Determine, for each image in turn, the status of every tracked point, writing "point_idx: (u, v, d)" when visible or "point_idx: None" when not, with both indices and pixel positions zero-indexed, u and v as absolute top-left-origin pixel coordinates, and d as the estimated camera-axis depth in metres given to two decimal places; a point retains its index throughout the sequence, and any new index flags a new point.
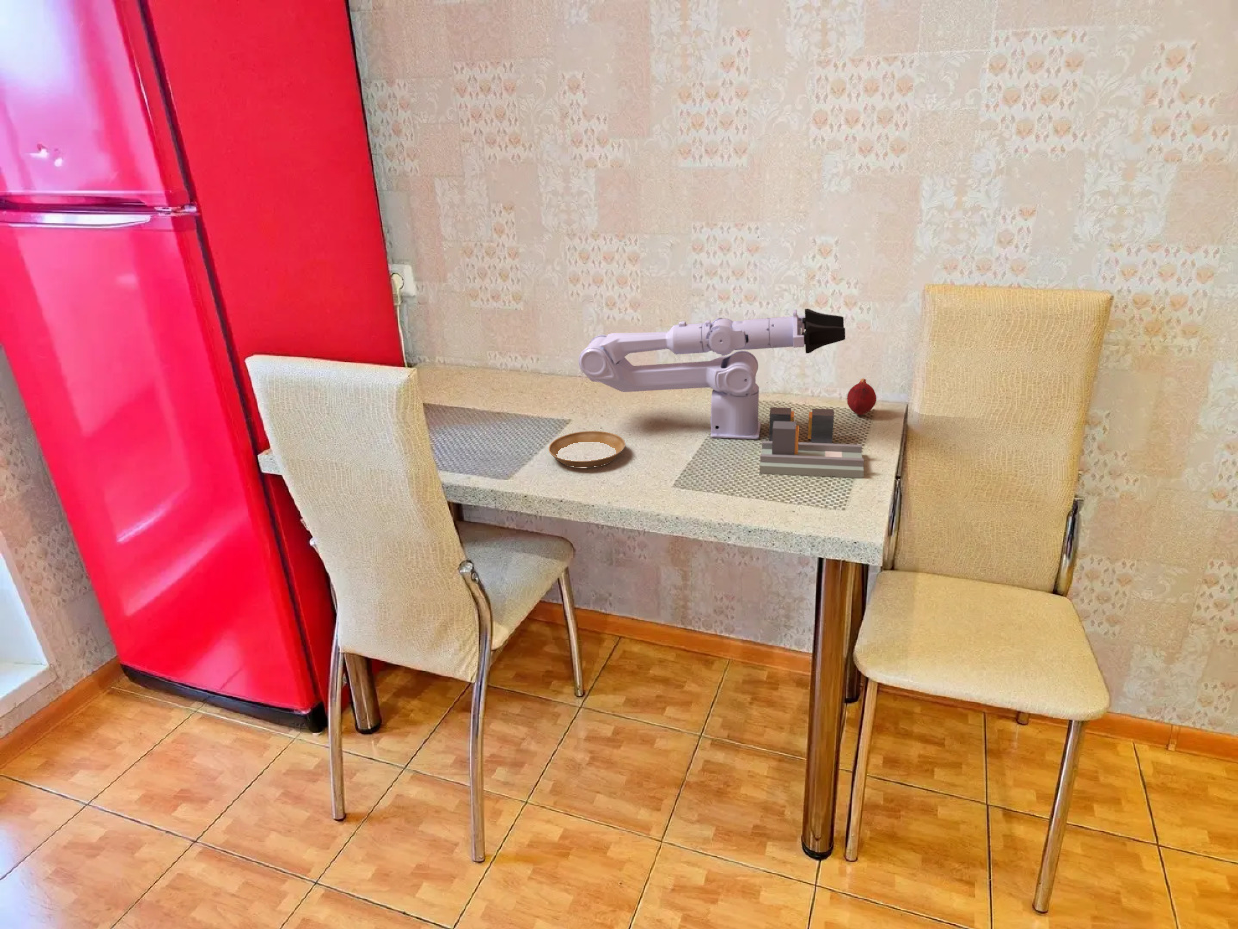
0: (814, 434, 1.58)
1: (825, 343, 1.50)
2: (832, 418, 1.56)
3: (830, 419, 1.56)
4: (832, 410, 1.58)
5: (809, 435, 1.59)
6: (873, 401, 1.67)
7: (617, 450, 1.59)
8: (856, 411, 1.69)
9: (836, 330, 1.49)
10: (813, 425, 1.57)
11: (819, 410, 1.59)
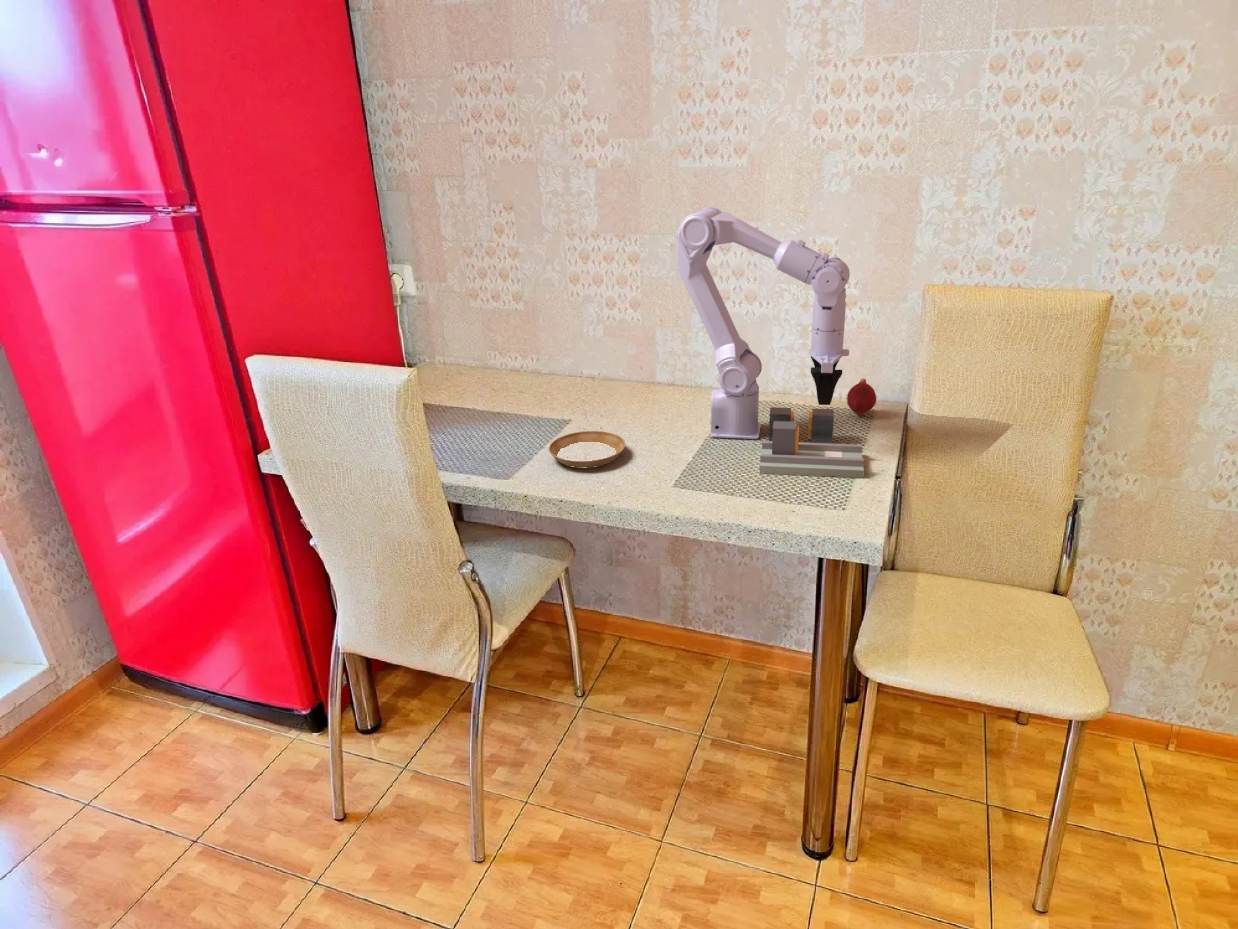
0: (814, 434, 1.58)
1: (818, 388, 1.51)
2: (832, 418, 1.56)
3: (830, 419, 1.56)
4: (832, 410, 1.58)
5: (809, 435, 1.59)
6: (873, 401, 1.67)
7: (617, 450, 1.59)
8: (856, 411, 1.69)
9: (829, 397, 1.52)
10: (813, 425, 1.57)
11: (819, 410, 1.59)
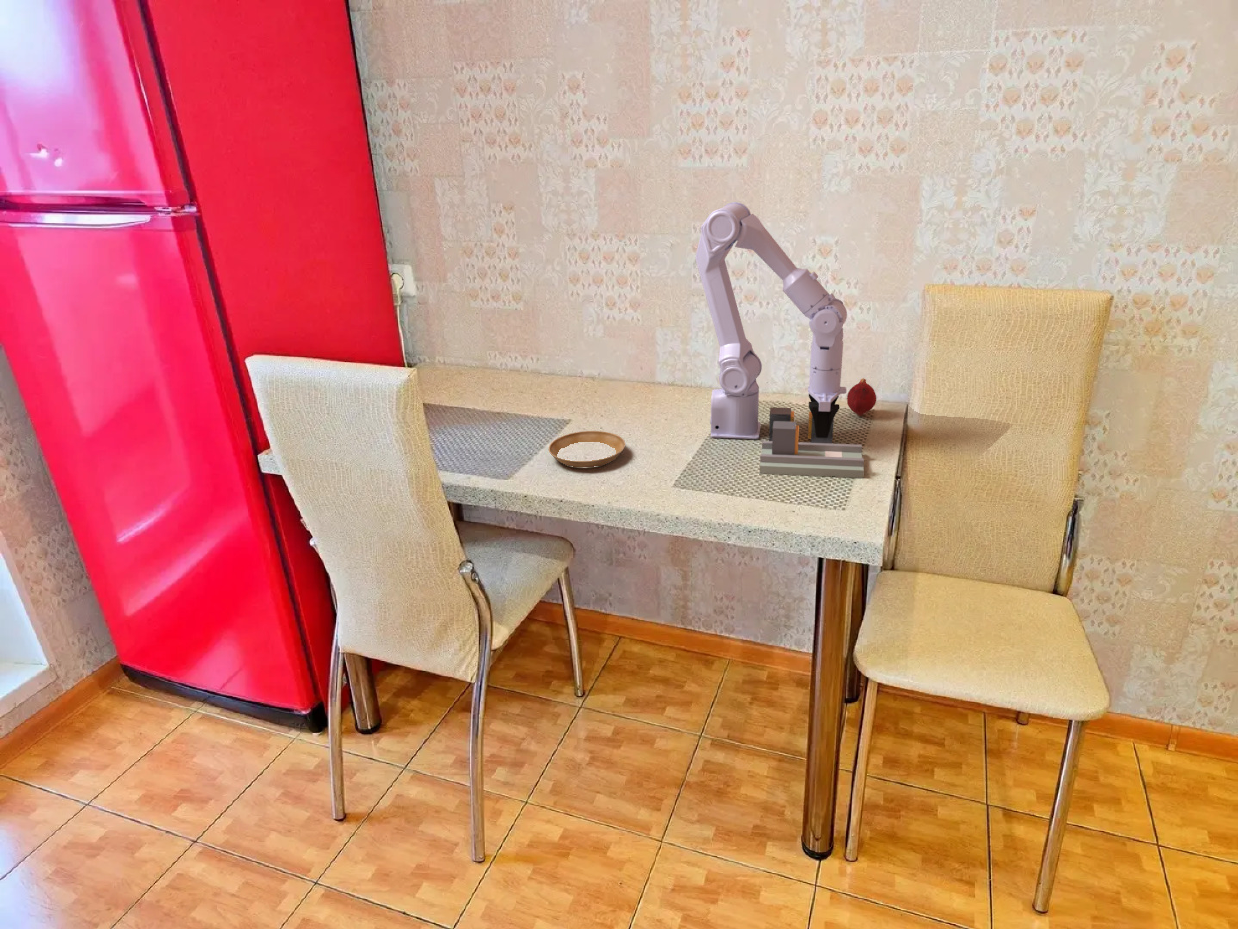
0: (814, 434, 1.58)
1: (815, 421, 1.56)
2: None
3: None
4: None
5: (809, 435, 1.59)
6: (873, 401, 1.67)
7: (617, 450, 1.59)
8: (856, 411, 1.69)
9: (826, 430, 1.57)
10: (813, 425, 1.57)
11: None
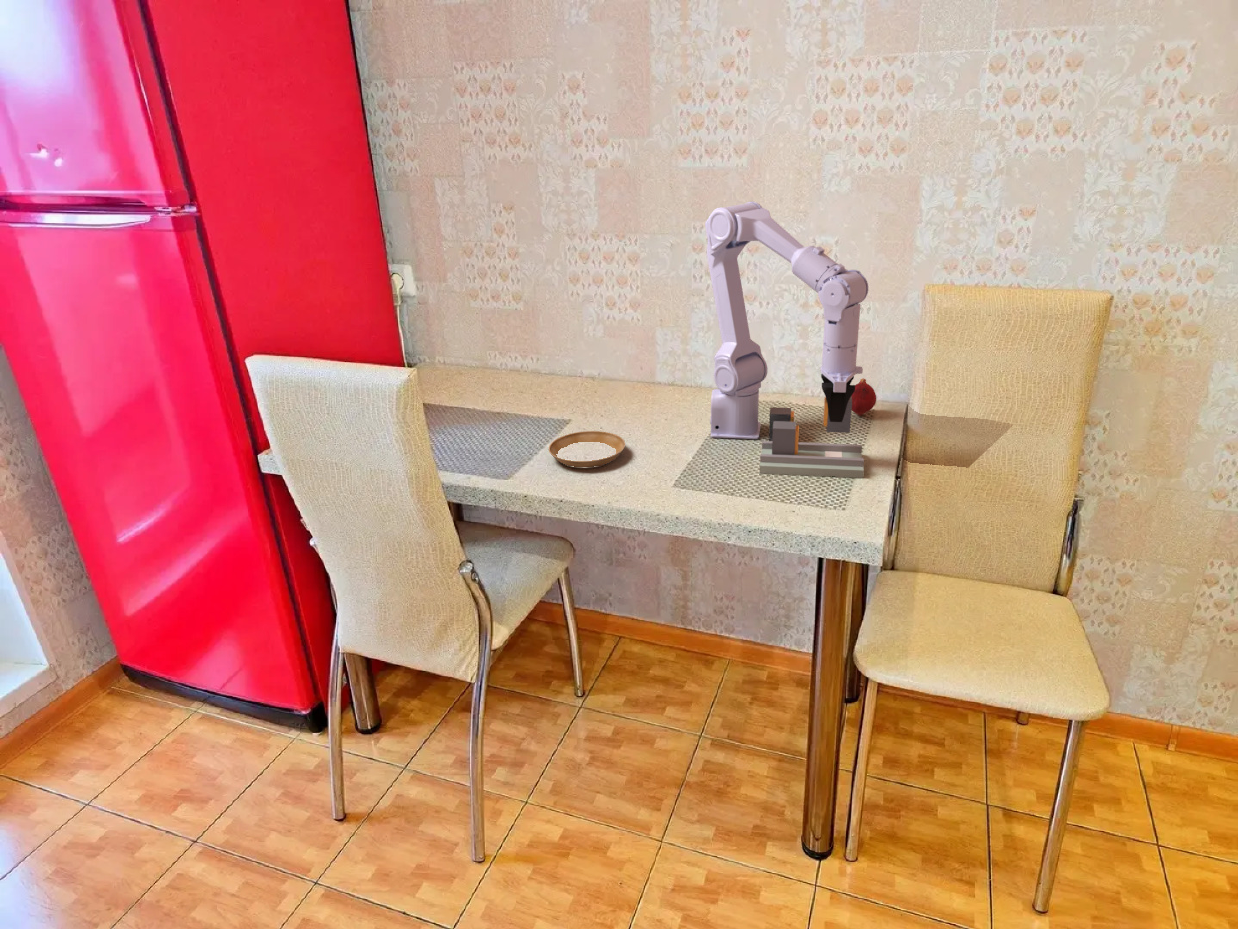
0: None
1: (829, 404, 1.43)
2: (850, 404, 1.44)
3: (848, 405, 1.44)
4: None
5: (825, 422, 1.47)
6: (873, 401, 1.67)
7: (617, 450, 1.59)
8: (856, 411, 1.69)
9: (841, 414, 1.44)
10: None
11: None
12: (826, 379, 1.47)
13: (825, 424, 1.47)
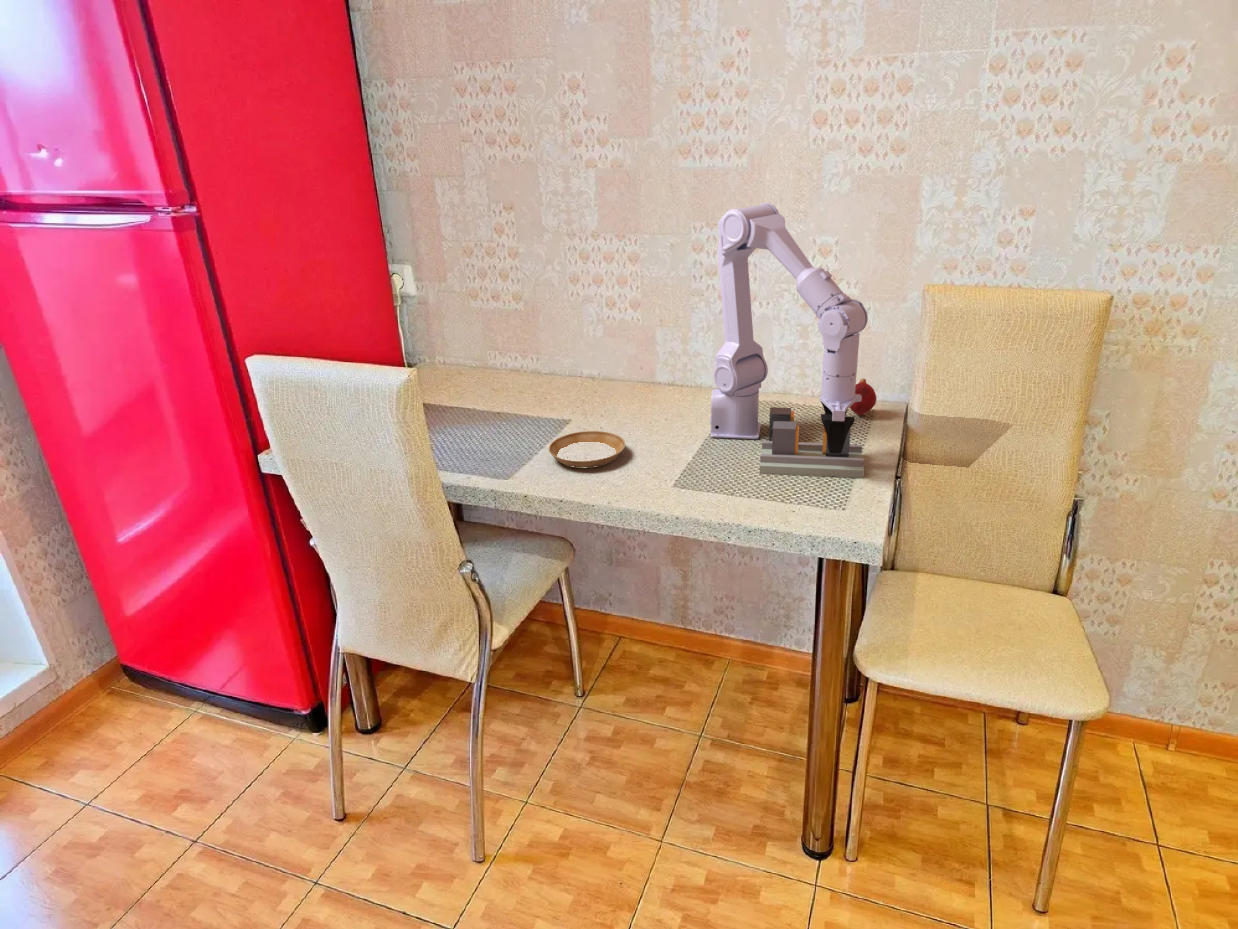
0: None
1: (828, 435, 1.43)
2: (849, 433, 1.45)
3: (847, 434, 1.45)
4: None
5: (824, 451, 1.48)
6: (873, 401, 1.67)
7: (617, 450, 1.59)
8: (856, 411, 1.69)
9: (840, 445, 1.44)
10: None
11: None
12: None
13: (824, 452, 1.48)
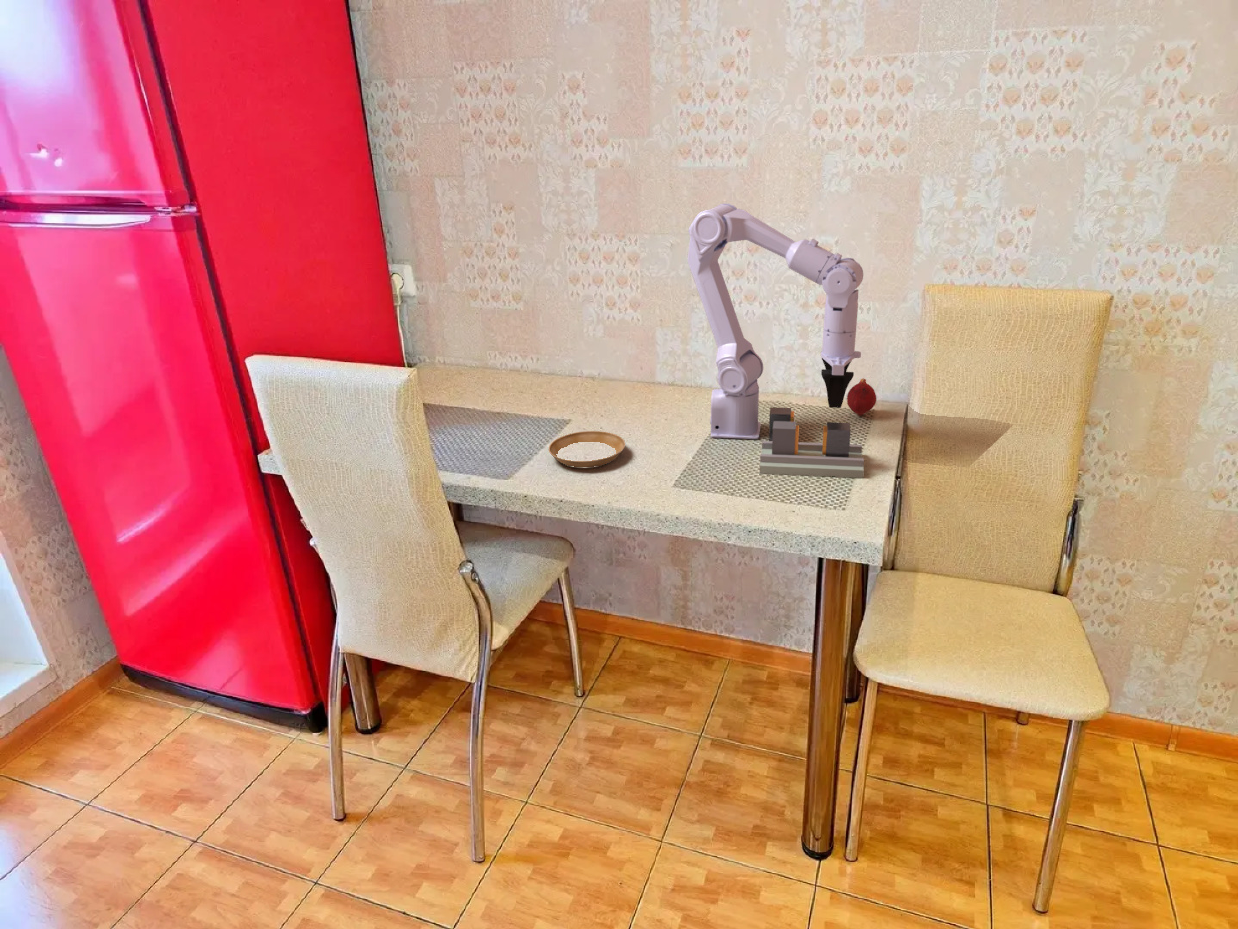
0: (829, 450, 1.47)
1: (828, 390, 1.49)
2: (849, 433, 1.45)
3: (847, 434, 1.45)
4: (848, 424, 1.47)
5: (824, 451, 1.48)
6: (873, 401, 1.67)
7: (617, 450, 1.59)
8: (856, 411, 1.69)
9: (840, 400, 1.49)
10: (828, 441, 1.47)
11: (834, 424, 1.48)
12: None
13: (824, 452, 1.48)
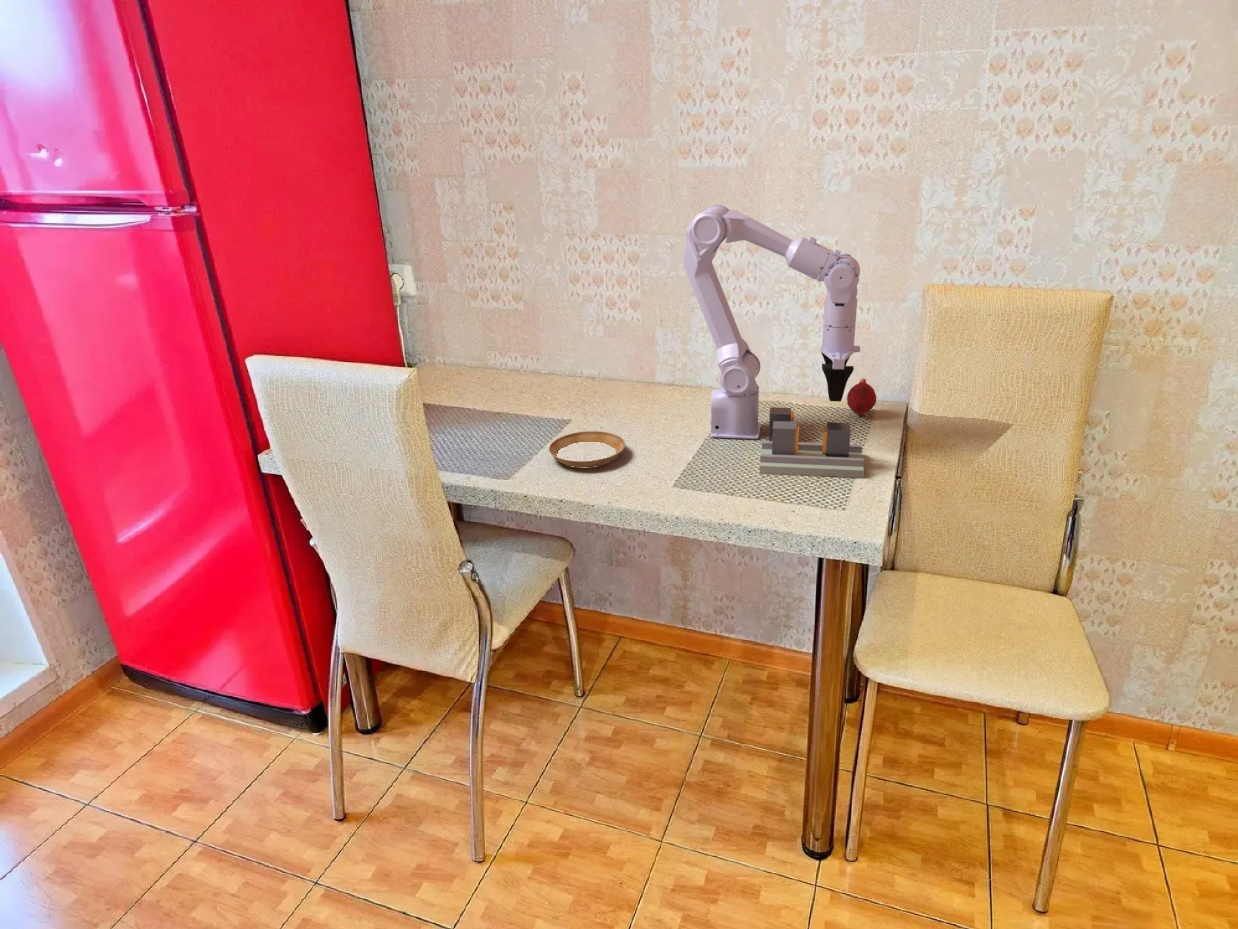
0: (829, 450, 1.47)
1: (829, 384, 1.51)
2: (849, 433, 1.45)
3: (847, 434, 1.45)
4: (848, 424, 1.47)
5: (824, 451, 1.48)
6: (873, 401, 1.67)
7: (617, 450, 1.59)
8: (856, 411, 1.69)
9: (840, 394, 1.52)
10: (828, 441, 1.47)
11: (834, 424, 1.48)
12: (826, 355, 1.58)
13: (824, 452, 1.48)
